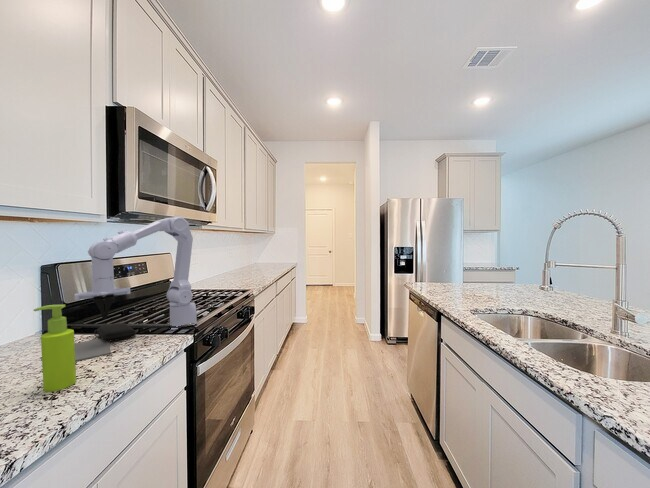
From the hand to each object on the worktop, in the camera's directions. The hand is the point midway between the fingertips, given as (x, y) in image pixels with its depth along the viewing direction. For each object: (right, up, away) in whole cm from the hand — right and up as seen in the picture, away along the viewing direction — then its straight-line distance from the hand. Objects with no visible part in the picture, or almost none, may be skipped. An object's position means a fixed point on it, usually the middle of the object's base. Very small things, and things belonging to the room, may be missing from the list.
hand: (104, 318), depth 94 cm
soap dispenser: (+8, -10, -25) cm, 28 cm away
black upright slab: (+2, -7, +4) cm, 9 cm away
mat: (-5, -10, -3) cm, 11 cm away
